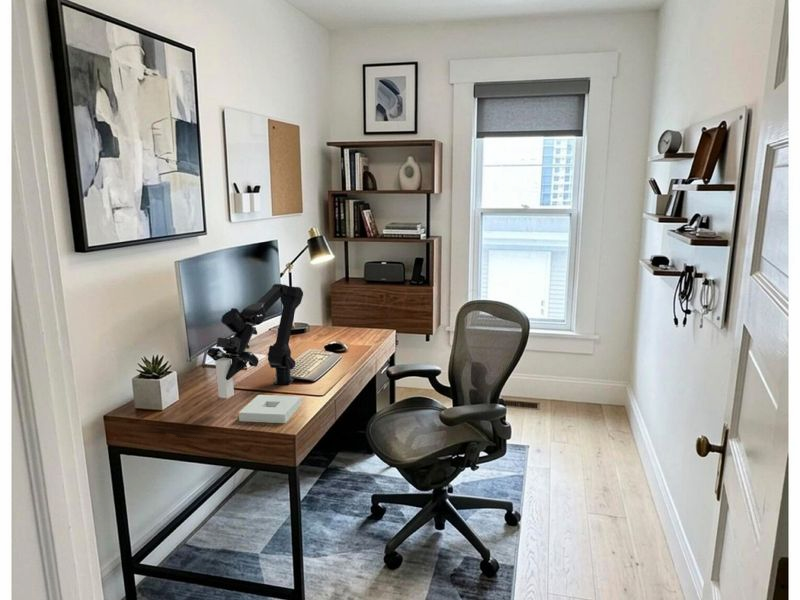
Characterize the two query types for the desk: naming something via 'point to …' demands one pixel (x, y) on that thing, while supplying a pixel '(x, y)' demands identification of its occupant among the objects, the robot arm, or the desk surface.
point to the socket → (270, 409)
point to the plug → (224, 378)
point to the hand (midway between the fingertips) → (222, 378)
